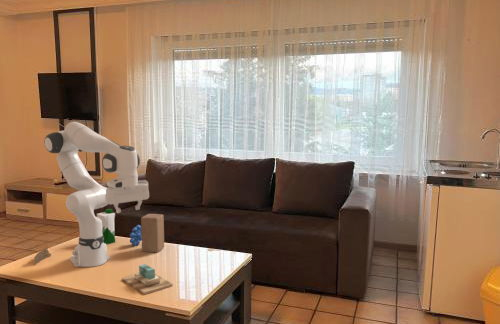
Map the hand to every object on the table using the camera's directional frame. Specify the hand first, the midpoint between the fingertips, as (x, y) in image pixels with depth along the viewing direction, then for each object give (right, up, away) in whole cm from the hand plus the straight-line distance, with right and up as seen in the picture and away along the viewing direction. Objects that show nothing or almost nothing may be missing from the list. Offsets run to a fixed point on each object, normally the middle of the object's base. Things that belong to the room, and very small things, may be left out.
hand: (128, 211), depth 192 cm
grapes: (-12, -27, +56) cm, 63 cm away
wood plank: (-54, -30, +29) cm, 68 cm away
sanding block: (+9, -32, -1) cm, 33 cm away
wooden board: (+9, -33, 0) cm, 34 cm away
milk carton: (-31, -26, +60) cm, 72 cm away
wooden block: (+1, -28, +47) cm, 54 cm away
